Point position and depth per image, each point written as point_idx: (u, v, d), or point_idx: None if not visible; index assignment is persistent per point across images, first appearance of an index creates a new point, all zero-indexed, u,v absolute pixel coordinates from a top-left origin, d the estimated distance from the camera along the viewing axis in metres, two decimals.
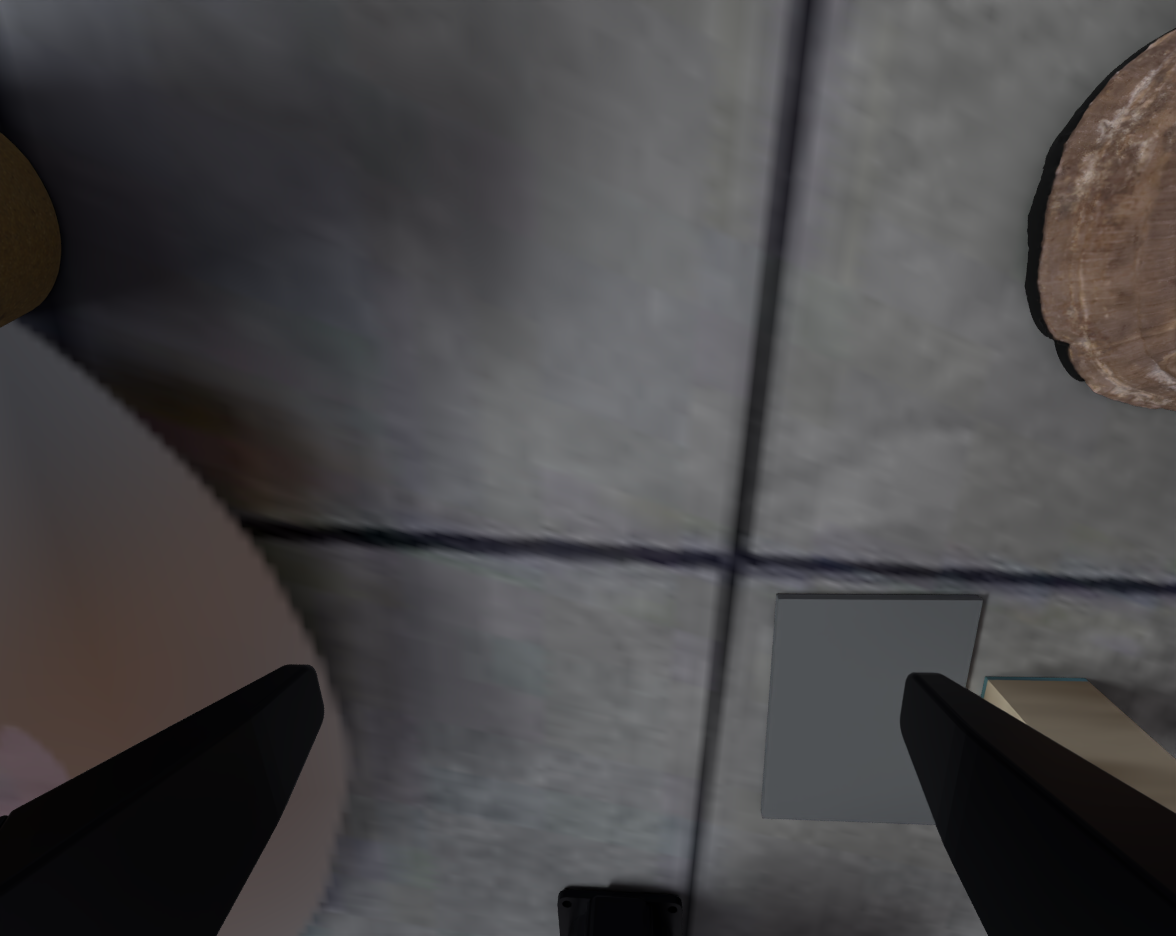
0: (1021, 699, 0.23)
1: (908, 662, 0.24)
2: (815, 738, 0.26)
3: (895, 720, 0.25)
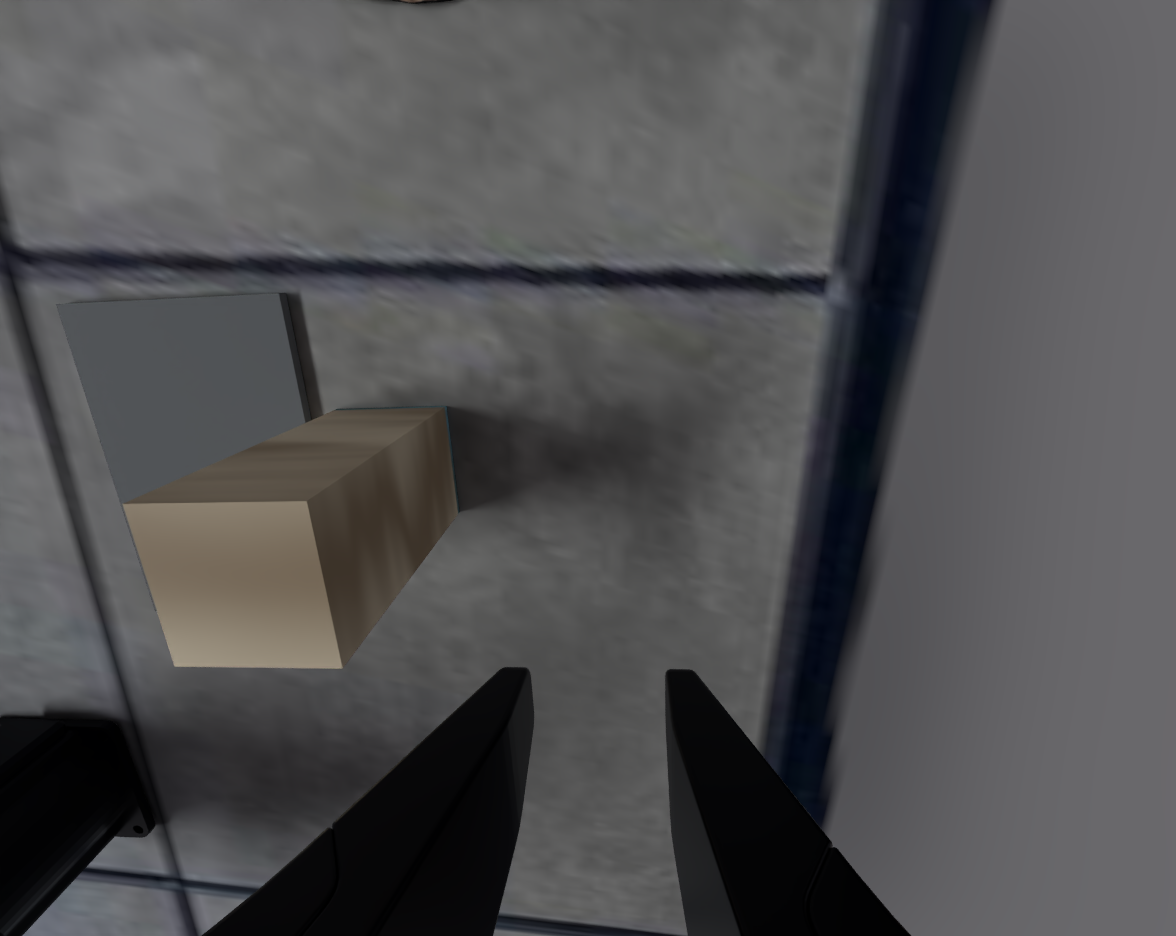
0: (334, 417, 0.19)
1: (230, 386, 0.20)
2: None
3: None
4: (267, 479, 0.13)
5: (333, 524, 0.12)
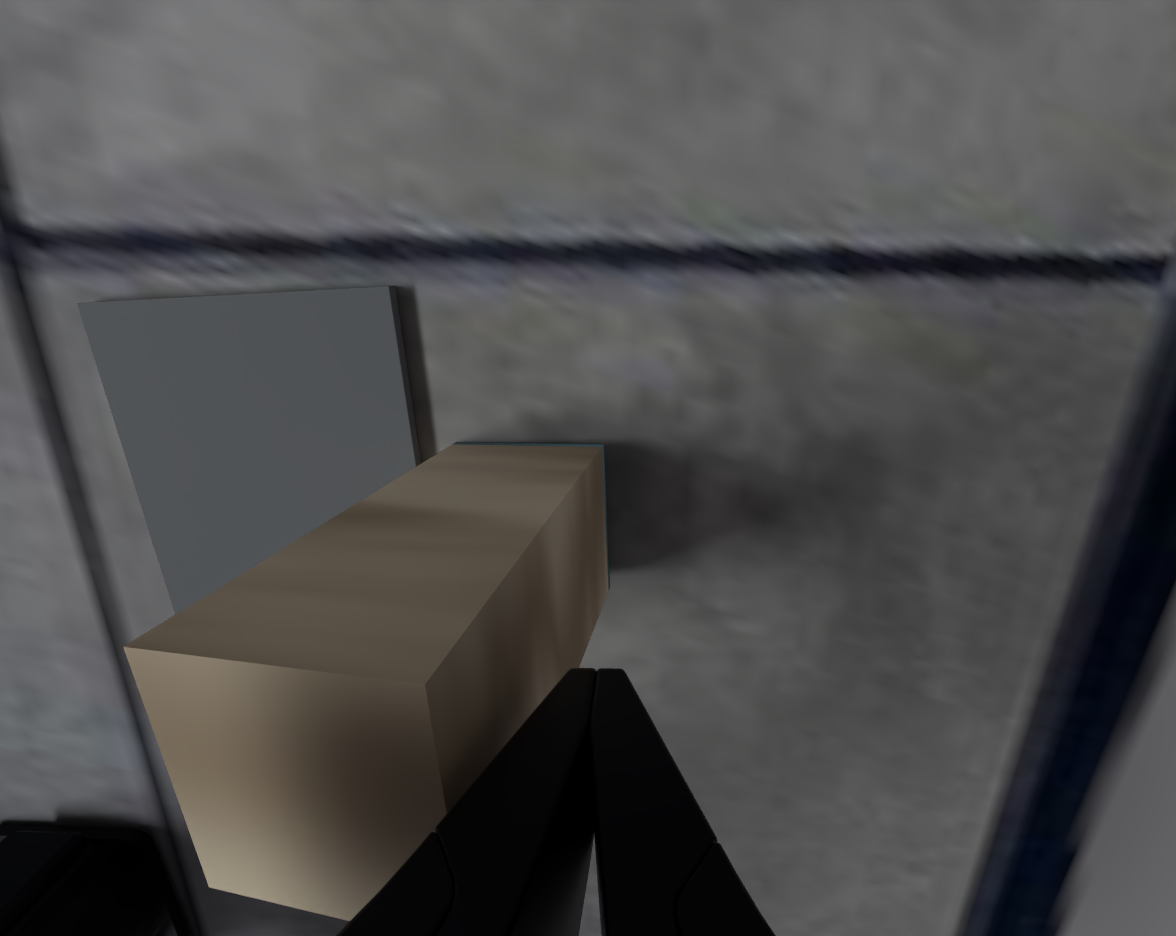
0: (454, 458, 0.14)
1: (314, 413, 0.15)
2: (226, 560, 0.16)
3: None
4: (359, 601, 0.08)
5: (465, 699, 0.07)
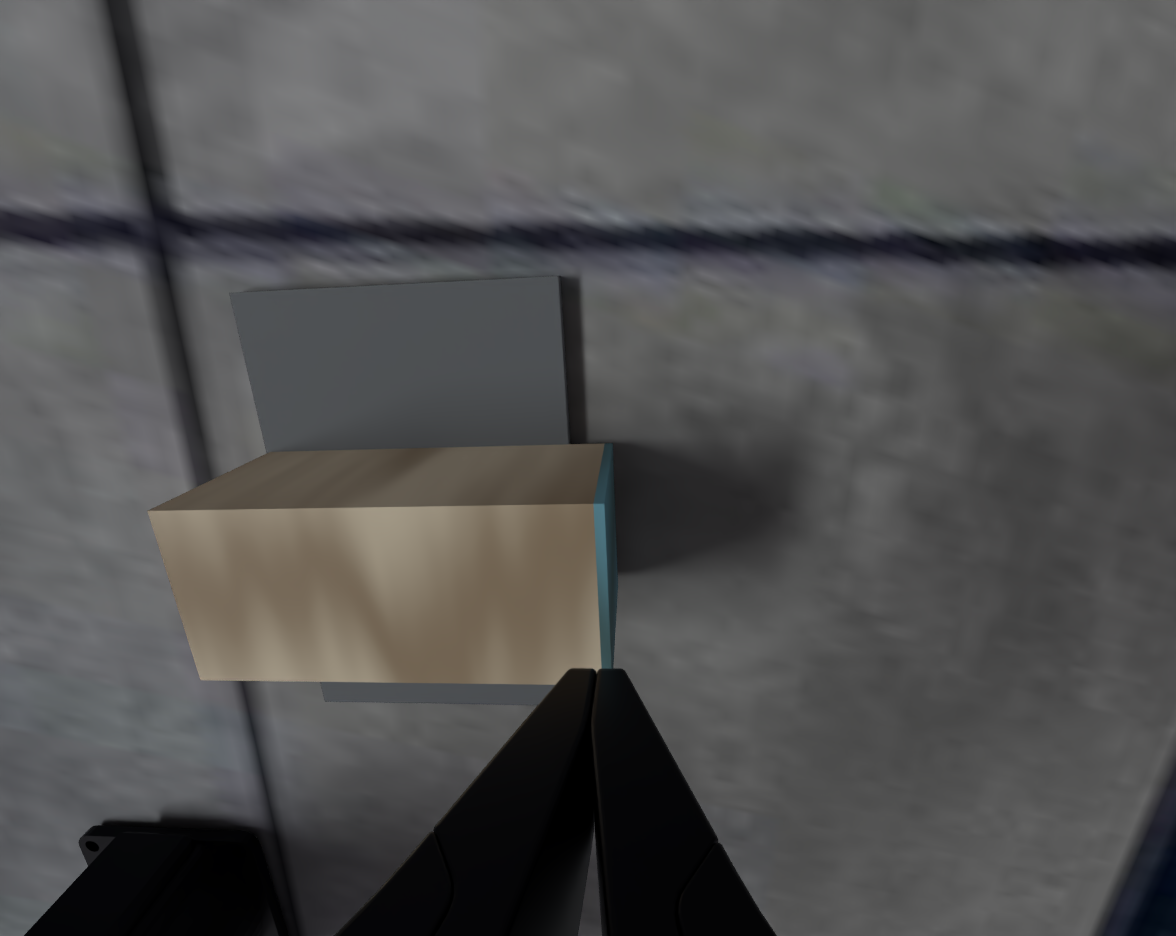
0: (554, 451, 0.14)
1: (467, 408, 0.14)
2: None
3: None
4: (266, 480, 0.13)
5: (195, 548, 0.11)
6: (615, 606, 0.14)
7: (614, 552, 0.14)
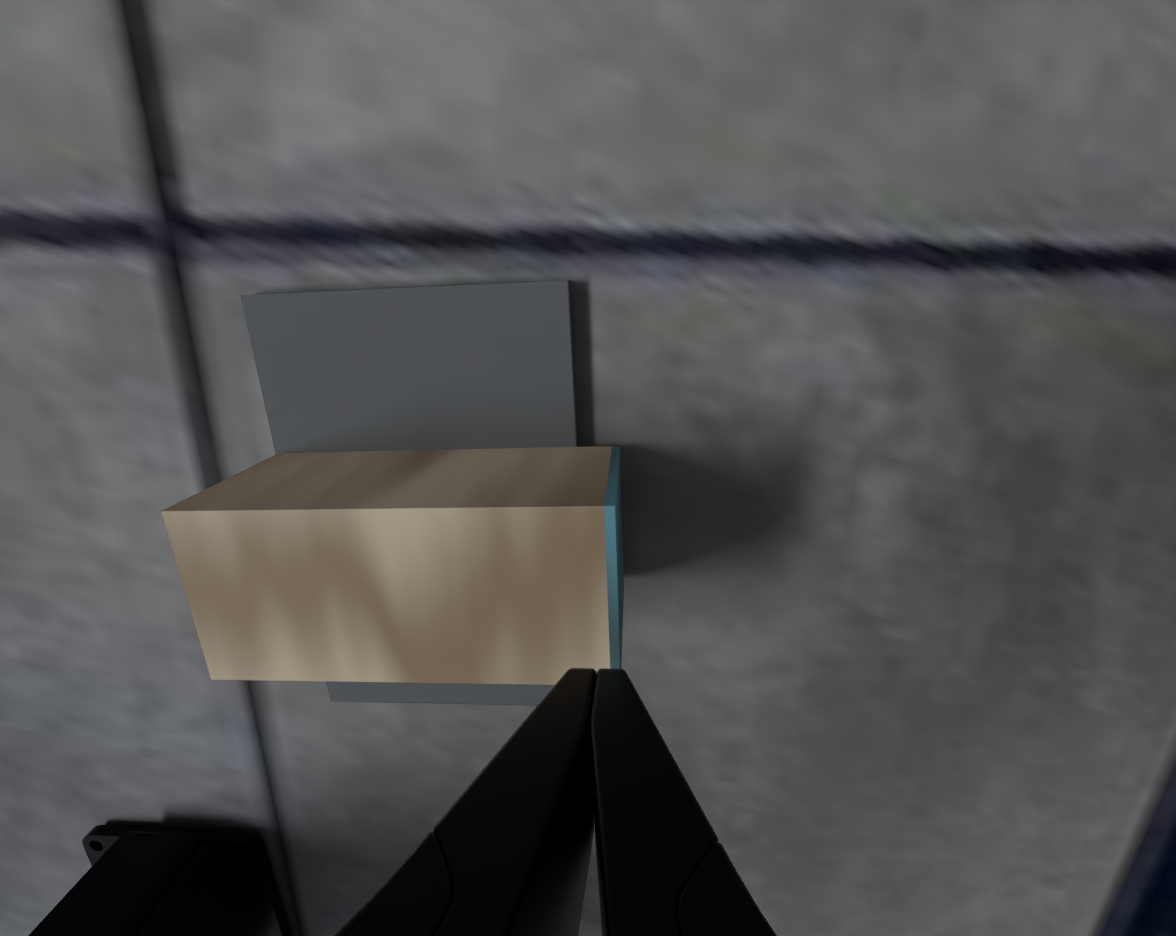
0: (562, 454, 0.14)
1: (476, 410, 0.14)
2: None
3: None
4: (277, 481, 0.13)
5: (207, 549, 0.12)
6: (622, 607, 0.14)
7: (621, 554, 0.14)
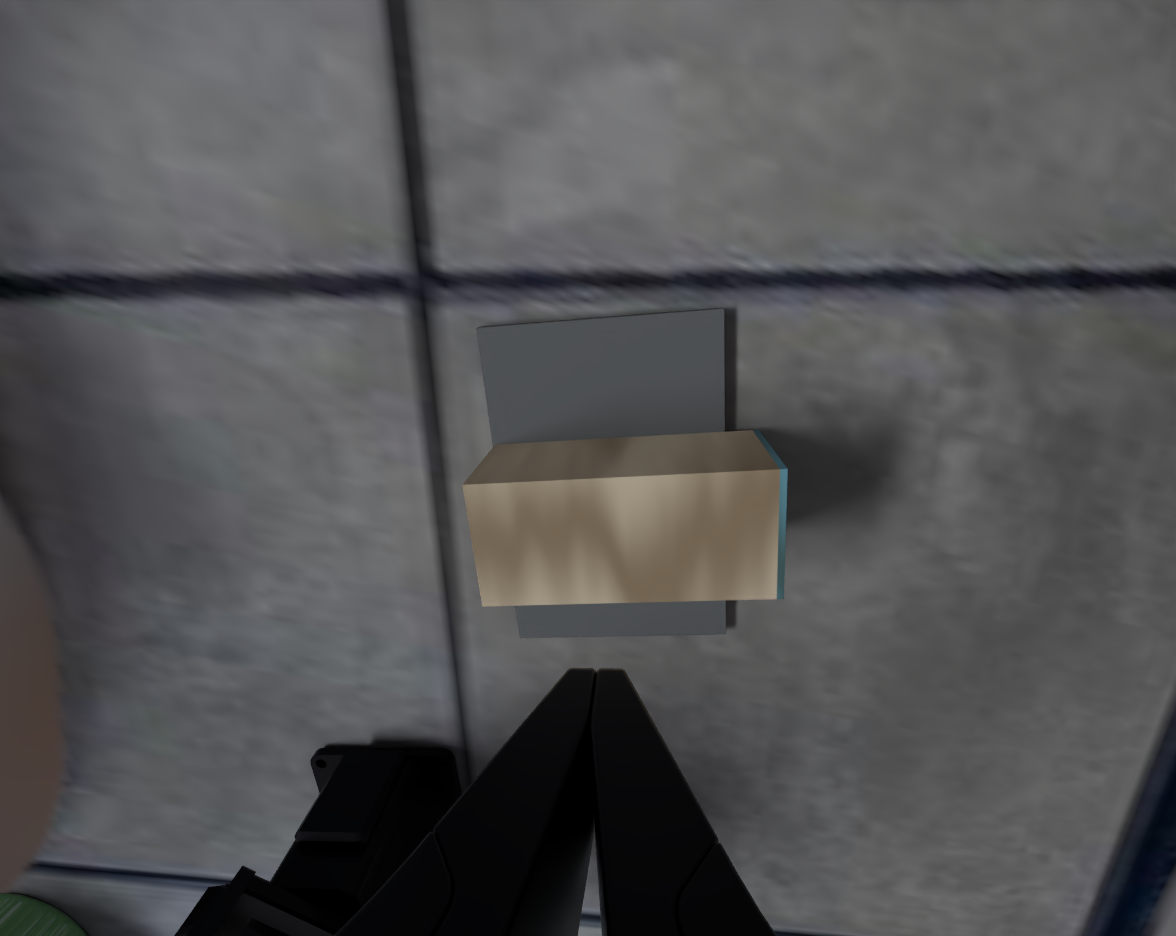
0: (718, 437, 0.19)
1: (649, 407, 0.19)
2: None
3: None
4: (521, 463, 0.18)
5: (492, 510, 0.17)
6: None
7: None
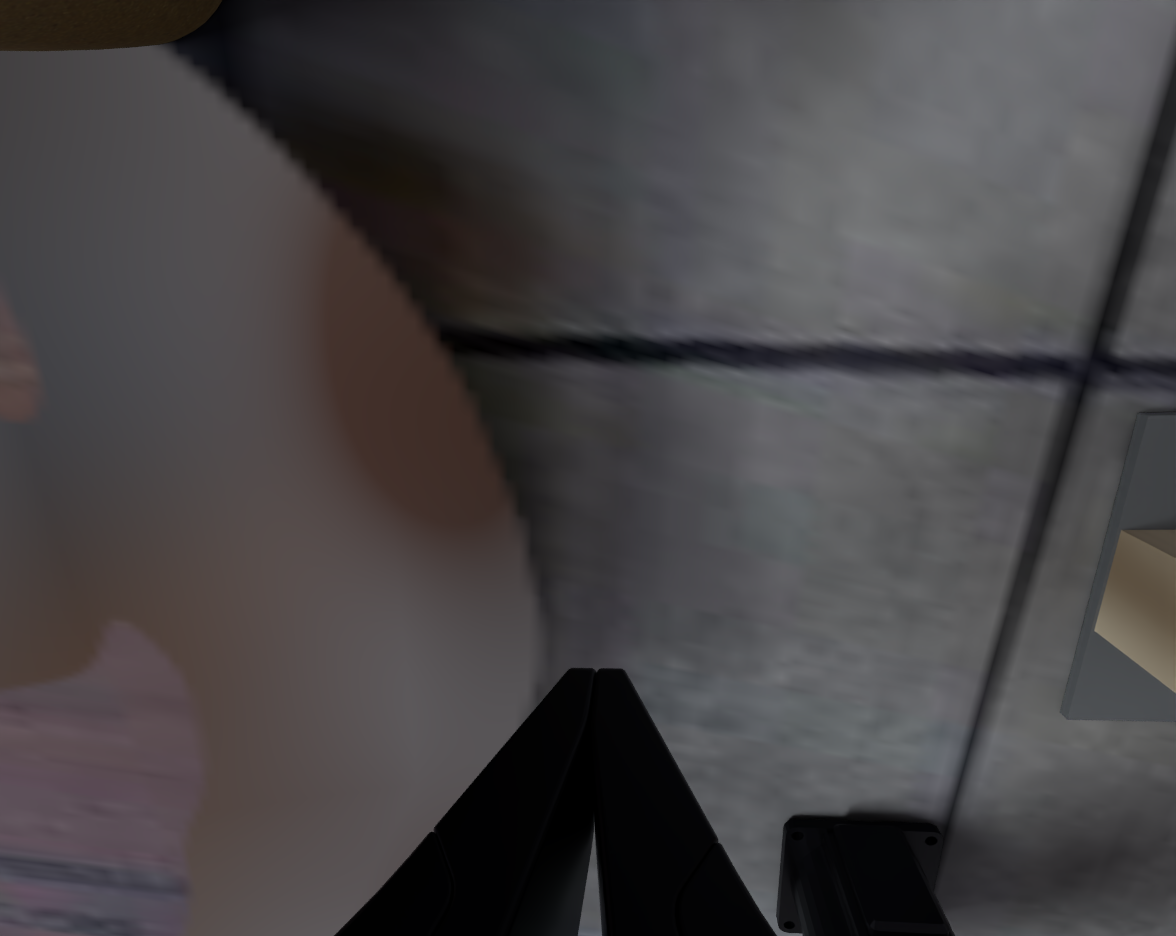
0: None
1: None
2: None
3: None
4: None
5: None
6: None
7: None
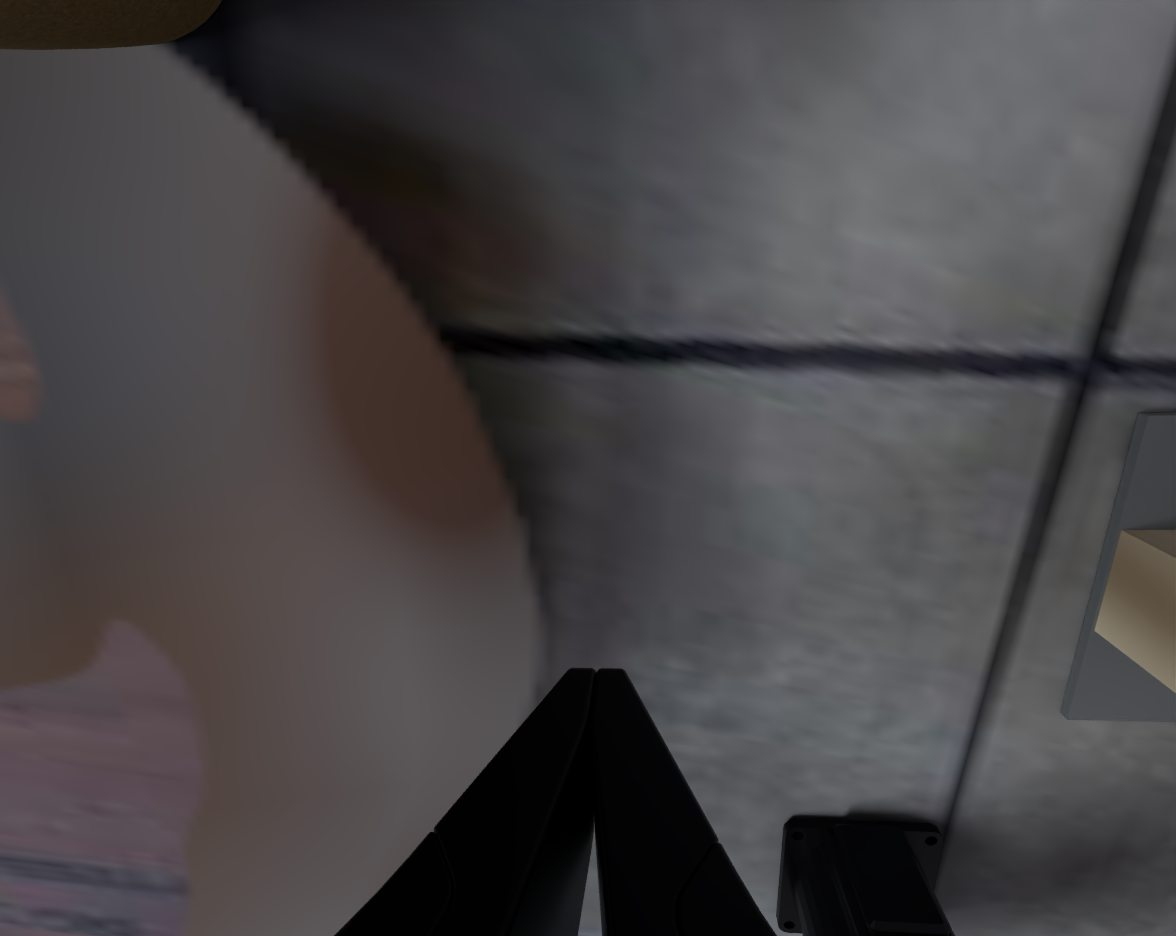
0: None
1: None
2: None
3: None
4: None
5: None
6: None
7: None
